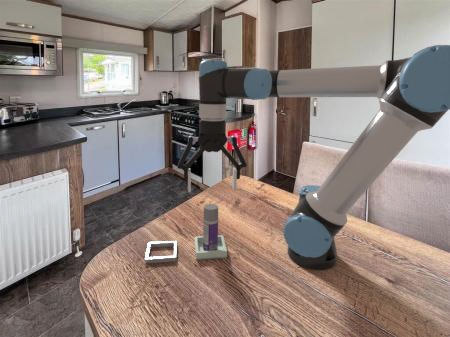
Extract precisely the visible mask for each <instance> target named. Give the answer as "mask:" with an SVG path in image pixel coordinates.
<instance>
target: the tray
mask: <svg viewBox="0 0 450 337" xmlns="http://www.w3.org/2000/svg"><path fill="white" fill-rule="evenodd" d="M227 249H228V248H227V245H226V241H225V238H224V235H221V234H220V235H219V234H218V247H217V250H213V251H204V250H203V235H199V236H198V235H197V236H194V251H195V252H194V253H195V261H204V260H216V259H217V260H218V259H220V260H221V259H227V258H228V250H227Z"/></svg>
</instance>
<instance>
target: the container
mask: <svg viewBox="0 0 450 337" xmlns="http://www.w3.org/2000/svg"><path fill="white" fill-rule="evenodd" d="M202 217H203V219H202V220H203V221H202V222H203V224H202V226H203V227H202V230H203V232H202V233H203V234H202V236H203V250H204V251H213V250H217V247H218V235H219V206H218V205H217V204H216V203H215V204H214V203H206V204H205V205H204V206H203V216H202Z"/></svg>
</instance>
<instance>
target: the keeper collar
mask: <svg viewBox="0 0 450 337" xmlns="http://www.w3.org/2000/svg"><path fill="white" fill-rule="evenodd" d="M177 243H178V242H177V240H171V241H170V240H169V241H168V240H166V241H149V242H148V243H147V248H146V252H145V258H144V264H159V263H161V264H162V263H173V262H174V263H175V262H177V254H178V253H177V252H178V250H177V249H178V248H177V246H178V244H177ZM167 247H168V248H169V247H173V255H165V256H164V255H163V256H150V255H151V248H167Z"/></svg>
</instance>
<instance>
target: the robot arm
mask: <svg viewBox="0 0 450 337" xmlns="http://www.w3.org/2000/svg"><path fill="white" fill-rule="evenodd" d="M198 89H199V96H198V97H199V101H198V102H199V104H198V105H199V106H198V109H199V110H198V114H199V115H198V117H199V118H200V119H199V120H198V123H199V125H198V126H199V130H198V131H199V134H198V136H192V135H189V136H188V139H187V144H186V146H185V148H184V149H183V150H184V151H182V154H181V156H180V158H179V160H178V163H177V169H179V170H182V171H183V179H184V181H185V182H186V181H187V192H188V193H191V192H192V179H191V178H192V177H191V174H192V172H191V171H192V170H191V167H192V166H193V164H195V162H196V161H197V160H198V159H199V157H200V156H201V155H202V154H204V152H207V153H211V152H212V153H218V152H222V153H223V154H224V155H225V157H226V158H228V160H229V161H230V162H231V164H232V165H233V167H232V178H231V179H232V180H231V181H232V185H231V188H232V190H233V191H235V192H236V191H237V180H240V179H241V170H242V169H243V168H246V167H247V162H246V160H245V158H244V156H243V154H242V151H241V150H240V147H239V145H238V140H237V139H238V138H237V136H235V135H234V134H233V135H231V136H227V129H226V128H227V121H226V120H225V119H226V118H227V99H240V100H252V101H258V100H266V99H268V98H377V99H378V102H379V110H378V112H377V113H376V114H375V116H373V118H372V119H371V120H370V122H369V123H368V125H367V126H366V127H365V128H364V130H363V131H362V133H361V134H360V135H359V136H358V137H357V138H356V140H355V141H354V143H353V144H352V145H351V147H349V149H348V151H346V153H344V155H343V157H342V158H341V159H340V161H339V162H338V163H337V164H336V166H335V167H334V168H333V169H332V171H331V172H330V174H329V175H328V176H327V177H326V178H325V180H324V181H323V183H322V184H321V185H313V184H310V185H308V184H307V185H303V186H301V188H300V191H299V193H298V194H299V198H298V202H297V204H296V206H295V208H294V209H293V211H292V212H291V214H290V216H289V217H288V218H287V219H286V221H285V223H284V227H283V238H284V241H285V243H286V244H287V255H288V257H289V258H290V259H291V261H292V262H294V263H296V264H298V265H300V267H304V268H307V269H311V270H317V271H321V270H327V269H331V268H333V267H334V266H335V265H336V264H337V259H338V251H337V245H336V242H335V237H336V236H337V235H338V234H339V232H340V231H341V230H342V229H343V227H345V225H346V224H347V223H348V218H347V213H348V212H349V211H350V210H351V209H352V207H354V205H355V204H356V203H357V202H358V201H359V199H360V198H361V197H362V196H363V195H364V194H365V193H366V191H367V190H368V189H369V188H370V187H371V186H372V185H373V184H374V182H375V181H376V180H377V179H378V178H379V177H380V176H381V174H382V173H383V172H384V171H385V170H386V168H388V167H389V166H390V164H391V163H392V162H393V161H394V159H395V158H397V156H398V155H399V154H400V153H401V151H402V150H403V149H404V148H405V147H406V146H407V145H408V143H409V142H410V141H411V140H412V139H413V138H414V136H416V134H417V133H418V132H421V131H424V130H430V129H433V127H434V126H435V125H436V124H437V123H438V122H439V121H440V120H441V119H442V117H444V115H446V114H447V112H448V111H449V110H450V44H435V45H431V46H427V47H424V48H423V49H420V50H418V51H417V52H416V53H414V54H413V55H412V56H410V57H406V58H401V59H396V60H394V59H393V60H392V59H391V60H390V59H389V60H385V61H383V63H382V64H379V65H363V66H362V65H361V66H358V65H357V66H343V67H341V66H340V67H338V66H337V67H321V68H320V67H319V68H300V69H299V68H298V69H296V68H295V69H281V70H280V69H277V70H275V69H274V70H269V69H267V68H259V67H252V68H230V67H229V68H228V63H227V61H225V60H217V59H214V60H212V59H210V60H209V59H208V60H207V59H206V60H203V61H201V62H200V63H199V70H198ZM196 142H198V144H199V147H198V148H197V150H196V151H195V152H194V153H193V154H192V156H190V158H189V159H188V160H187V157H188V156H189V153H190V151H191V150H192V147H193V145H195V144H196ZM226 143H229V144H230V145H232V148H233V150H234V152H235V154H236V156H237V158H238V160H239V162H238V161H237V160H236V159H235V158H234V156H232V154H231V153H230V152H229V151H228V150H227V148H226V147H225V145H226ZM186 160H187V161H186ZM185 161H186V162H185Z"/></svg>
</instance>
